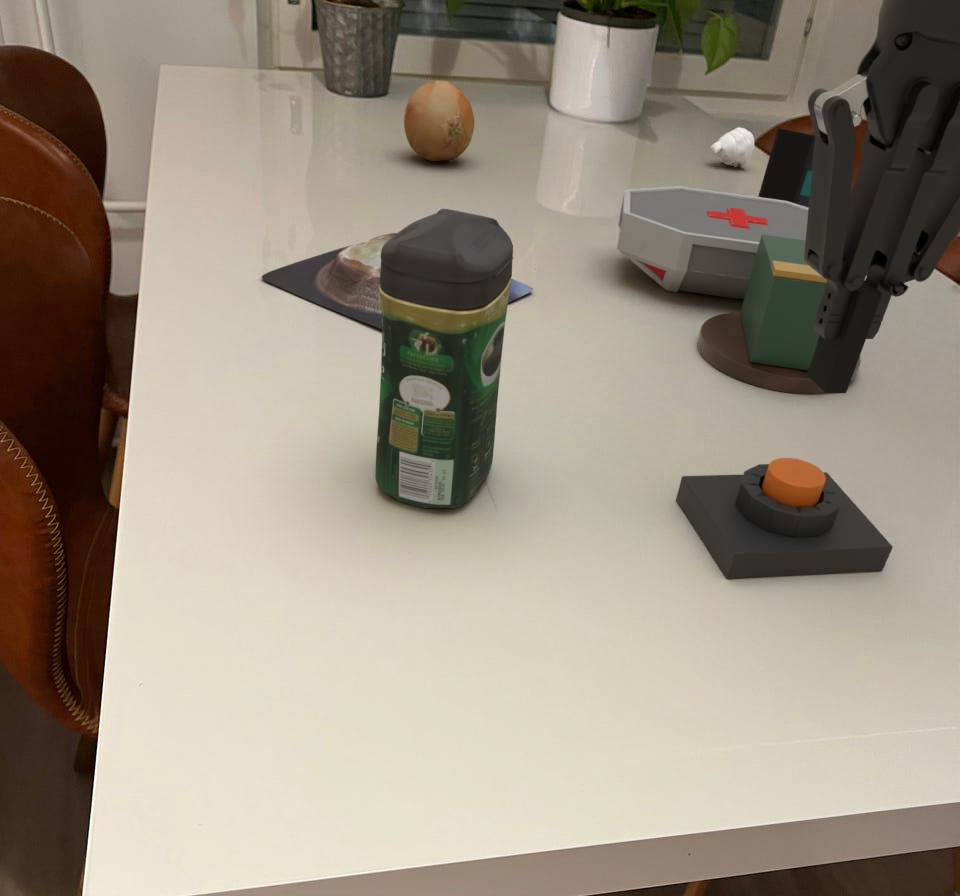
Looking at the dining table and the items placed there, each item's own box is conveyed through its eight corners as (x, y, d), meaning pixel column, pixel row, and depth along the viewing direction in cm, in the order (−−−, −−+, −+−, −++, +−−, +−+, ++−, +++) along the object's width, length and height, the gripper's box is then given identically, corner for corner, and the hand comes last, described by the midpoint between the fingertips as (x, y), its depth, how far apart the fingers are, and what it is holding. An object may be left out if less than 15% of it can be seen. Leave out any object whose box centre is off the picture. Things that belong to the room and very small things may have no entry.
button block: (817, 496, 77) (834, 451, 75) (882, 572, 70) (902, 525, 67) (675, 500, 75) (687, 454, 72) (726, 580, 67) (741, 531, 65)
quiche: (536, 292, 104) (541, 254, 102) (411, 345, 91) (413, 303, 89) (388, 238, 113) (389, 201, 110) (255, 279, 100) (253, 239, 97)
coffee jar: (406, 438, 78) (419, 191, 66) (501, 462, 76) (532, 214, 65) (357, 497, 71) (361, 232, 59) (461, 524, 69) (487, 258, 57)
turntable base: (811, 325, 105) (815, 312, 104) (885, 393, 93) (891, 378, 92) (674, 324, 101) (678, 310, 100) (734, 394, 90) (738, 379, 89)
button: (802, 477, 72) (810, 456, 71) (828, 507, 69) (836, 486, 68) (752, 479, 71) (759, 457, 70) (776, 509, 68) (783, 487, 67)
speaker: (789, 221, 132) (813, 136, 126) (752, 211, 135) (775, 127, 129) (816, 219, 137) (841, 136, 131) (781, 209, 140) (804, 128, 134)
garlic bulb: (699, 161, 153) (707, 123, 149) (730, 161, 155) (739, 123, 152) (718, 172, 149) (727, 133, 146) (750, 171, 151) (760, 132, 148)
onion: (430, 174, 134) (435, 92, 128) (388, 154, 140) (391, 74, 133) (485, 167, 139) (492, 88, 133) (442, 148, 145) (447, 71, 138)
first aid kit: (609, 297, 105) (843, 330, 104) (623, 225, 100) (867, 259, 100) (613, 244, 119) (819, 273, 118) (624, 178, 114) (840, 208, 113)
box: (738, 313, 101) (762, 227, 95) (808, 323, 101) (836, 237, 95) (749, 362, 92) (775, 270, 86) (826, 373, 91) (857, 281, 86)
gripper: (903, -58, 45) (758, 411, 60) (1139, -31, 48) (944, 410, 63) (828, -76, 51) (712, 358, 66) (1043, -51, 53) (885, 359, 69)
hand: (826, 383), depth 64 cm, fingers closed
